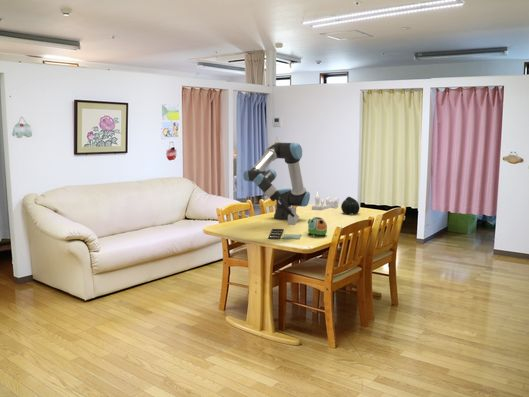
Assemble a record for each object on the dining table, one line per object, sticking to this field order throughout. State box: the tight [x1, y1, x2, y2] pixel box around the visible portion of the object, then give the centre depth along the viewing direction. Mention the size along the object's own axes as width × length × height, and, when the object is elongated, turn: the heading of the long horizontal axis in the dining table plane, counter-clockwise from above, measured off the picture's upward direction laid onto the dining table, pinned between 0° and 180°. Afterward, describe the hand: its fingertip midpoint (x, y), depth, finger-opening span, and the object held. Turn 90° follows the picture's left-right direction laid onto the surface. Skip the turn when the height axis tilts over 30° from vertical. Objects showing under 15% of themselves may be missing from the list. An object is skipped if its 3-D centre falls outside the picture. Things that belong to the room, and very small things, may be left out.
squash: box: [340, 196, 360, 215], centre depth 409 cm, size 14×15×15 cm
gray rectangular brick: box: [287, 206, 297, 226], centre depth 322 cm, size 5×5×11 cm
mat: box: [282, 233, 302, 240], centre depth 324 cm, size 11×11×1 cm
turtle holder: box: [307, 216, 328, 238], centre depth 331 cm, size 12×18×12 cm
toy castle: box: [311, 191, 340, 211], centre depth 432 cm, size 14×25×16 cm, turn 142°
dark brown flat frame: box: [267, 228, 285, 240], centre depth 331 cm, size 26×8×1 cm, turn 173°
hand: (297, 219), depth 322 cm, fingers closed on gray rectangular brick, 5 cm apart
